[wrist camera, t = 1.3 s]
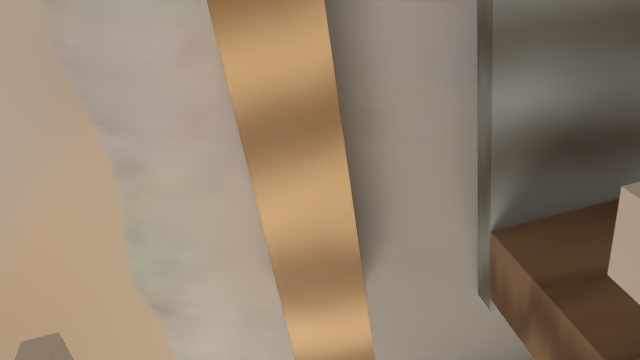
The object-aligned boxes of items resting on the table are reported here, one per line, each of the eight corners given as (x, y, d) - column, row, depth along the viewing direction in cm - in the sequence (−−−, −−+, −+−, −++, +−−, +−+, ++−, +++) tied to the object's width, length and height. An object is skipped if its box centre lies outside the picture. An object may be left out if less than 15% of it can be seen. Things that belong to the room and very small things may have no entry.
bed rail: (351, 304, 33) (375, 366, 28) (287, 321, 32) (302, 387, 28) (256, -290, 19) (276, -343, 15) (141, -274, 18) (127, -324, 14)
